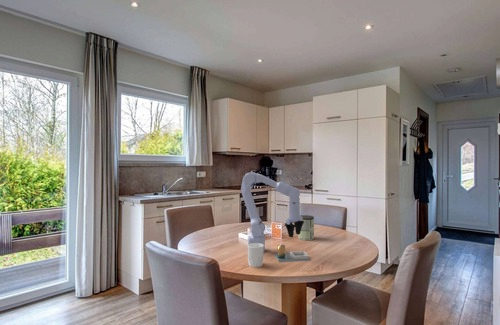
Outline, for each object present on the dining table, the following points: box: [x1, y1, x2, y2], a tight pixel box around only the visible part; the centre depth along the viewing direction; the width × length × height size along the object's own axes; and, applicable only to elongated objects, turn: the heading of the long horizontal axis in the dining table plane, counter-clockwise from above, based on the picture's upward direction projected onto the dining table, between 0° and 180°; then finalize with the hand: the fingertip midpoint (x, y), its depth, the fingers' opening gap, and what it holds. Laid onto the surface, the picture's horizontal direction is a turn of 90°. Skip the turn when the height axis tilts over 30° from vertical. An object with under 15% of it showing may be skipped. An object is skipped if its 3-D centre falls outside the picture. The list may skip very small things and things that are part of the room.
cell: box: [276, 243, 286, 259], centre depth 147 cm, size 4×4×7 cm
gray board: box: [273, 250, 312, 263], centre depth 147 cm, size 16×14×2 cm
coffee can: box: [297, 214, 315, 241], centre depth 187 cm, size 10×10×14 cm
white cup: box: [246, 243, 265, 268], centre depth 137 cm, size 8×8×10 cm
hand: (294, 235), depth 155 cm, fingers open, 7 cm apart
